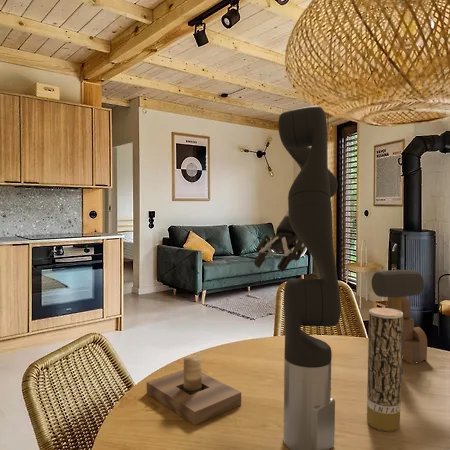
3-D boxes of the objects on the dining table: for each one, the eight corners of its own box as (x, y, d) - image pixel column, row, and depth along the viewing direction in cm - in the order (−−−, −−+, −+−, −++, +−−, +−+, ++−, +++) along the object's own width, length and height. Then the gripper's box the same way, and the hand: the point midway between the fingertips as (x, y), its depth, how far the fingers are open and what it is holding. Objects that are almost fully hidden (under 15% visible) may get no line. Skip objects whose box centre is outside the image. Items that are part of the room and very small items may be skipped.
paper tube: (361, 417, 93) (364, 307, 92) (390, 416, 94) (393, 307, 92) (374, 433, 87) (377, 316, 85) (406, 432, 87) (409, 315, 86)
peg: (205, 398, 102) (205, 359, 101) (190, 405, 99) (190, 364, 98) (194, 392, 105) (194, 353, 105) (179, 398, 102) (179, 358, 101)
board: (241, 404, 99) (241, 392, 99) (194, 425, 90) (194, 411, 90) (190, 377, 114) (190, 367, 114) (146, 393, 105) (146, 381, 104)
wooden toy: (428, 361, 127) (430, 280, 125) (412, 364, 124) (414, 281, 122) (389, 345, 141) (390, 272, 139) (374, 347, 138) (375, 273, 136)
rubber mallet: (406, 369, 120) (409, 267, 118) (423, 380, 113) (426, 271, 111) (367, 373, 117) (369, 268, 116) (382, 384, 110) (385, 272, 108)
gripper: (270, 214, 123) (242, 256, 116) (309, 215, 112) (281, 261, 105) (281, 231, 126) (255, 272, 119) (321, 234, 116) (294, 280, 109)
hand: (267, 267), depth 112 cm, fingers open, 8 cm apart
